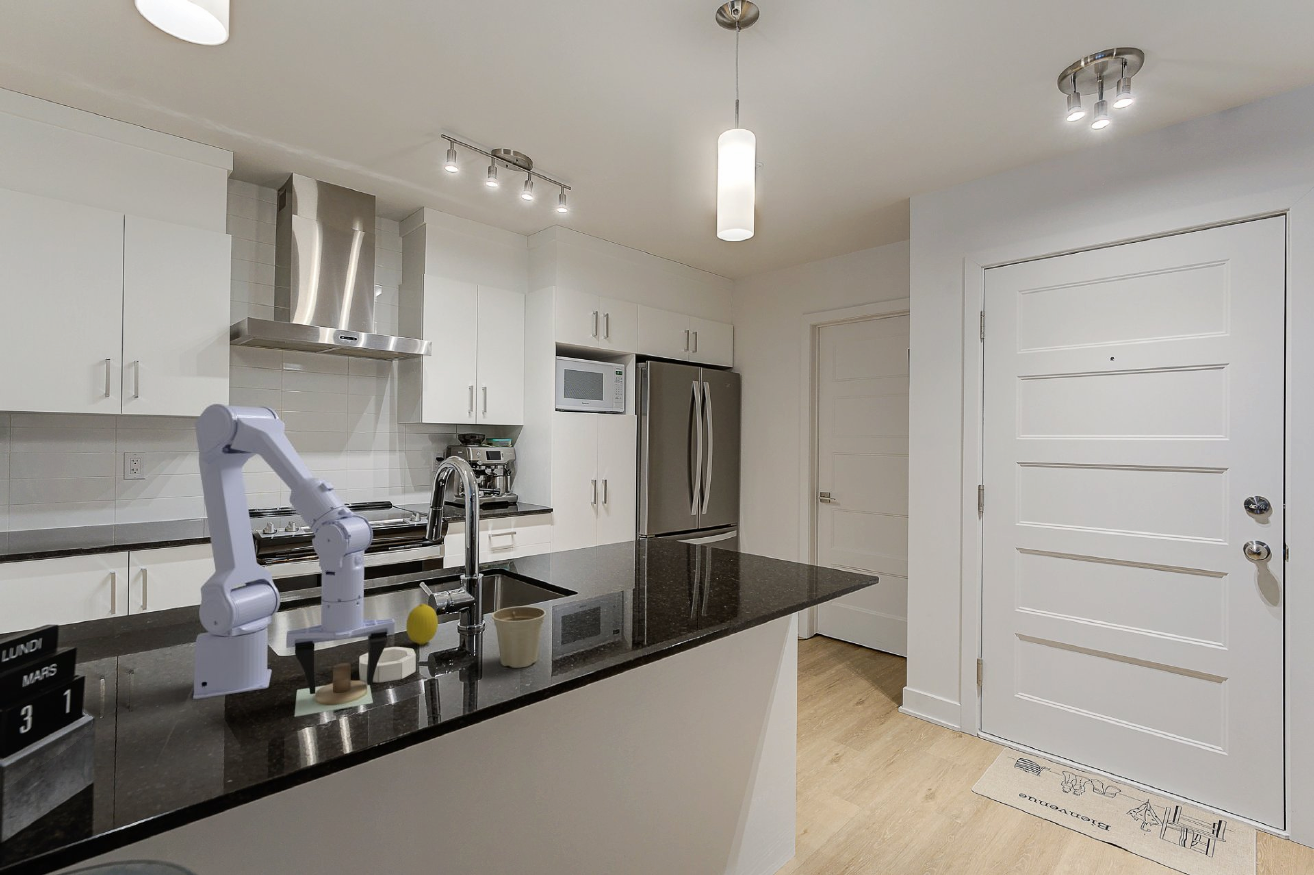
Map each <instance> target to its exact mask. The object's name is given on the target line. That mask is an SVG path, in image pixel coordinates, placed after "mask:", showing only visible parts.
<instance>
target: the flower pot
mask: <svg viewBox="0 0 1314 875" xmlns="http://www.w3.org/2000/svg"><path fill="white" fill-rule="evenodd" d="M546 615H547V612H546V610H544V609H543V608H541V607H537V606H530V605H529V606H528V605H527V606H525V605H524V606H523V605H522V606H521V605H520V606H511V607H505V608H500V609H498V610H496V611H494V612H492V613H491V619H492V620H493V623H494V627H495V628H496V634H497V635H496V636H497V642H498V643H497V644H498V651H499V657H500V658H499V659H500V664H501V665H502V666H504V667H507V666H509V667H511V668H514V669H518V668H519V669H520V668H526V667H530V666H532V664H533V663H537V660H538V653H539V652H538V651H539V645H540V638H541V631H542V625H543V623H544V619H545V617H546Z"/></svg>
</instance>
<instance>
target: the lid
mask: <svg viewBox="0 0 1314 875" xmlns="http://www.w3.org/2000/svg"><path fill="white" fill-rule="evenodd" d="M351 668H352V664H351V663H348V662H347V663H346V662H345V663H344V662H343V663H337V664H335V665H333V666H332V683H329V684H326V685H323V686H324V687H322V688H320V689H319V690H317V691H316V693H315V700H316V702H317V703H319V704H323V705H339V704H345V703H349V702H353V701H355V700H358V699H360V698H362V697H363V696H365V695H366V693H367V684H366V683H364V682H361V681H358V680H351V677H352V676H351V674H352V672H351V670H352V669H351Z"/></svg>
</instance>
